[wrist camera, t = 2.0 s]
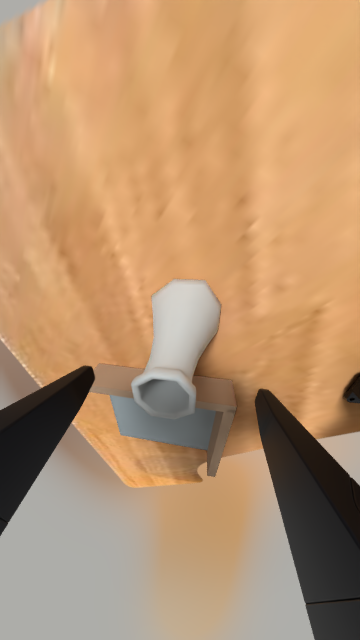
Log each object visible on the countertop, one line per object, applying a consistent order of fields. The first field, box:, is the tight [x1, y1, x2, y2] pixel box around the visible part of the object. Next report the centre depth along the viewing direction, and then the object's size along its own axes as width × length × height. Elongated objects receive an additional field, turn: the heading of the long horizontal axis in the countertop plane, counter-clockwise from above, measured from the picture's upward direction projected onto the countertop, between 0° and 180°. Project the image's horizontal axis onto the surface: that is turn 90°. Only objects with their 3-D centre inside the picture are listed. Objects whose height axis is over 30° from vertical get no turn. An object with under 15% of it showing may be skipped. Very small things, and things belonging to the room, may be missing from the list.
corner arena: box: [89, 364, 237, 477], centre depth 23 cm, size 18×18×4 cm
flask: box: [131, 279, 221, 419], centre depth 12 cm, size 7×7×10 cm
